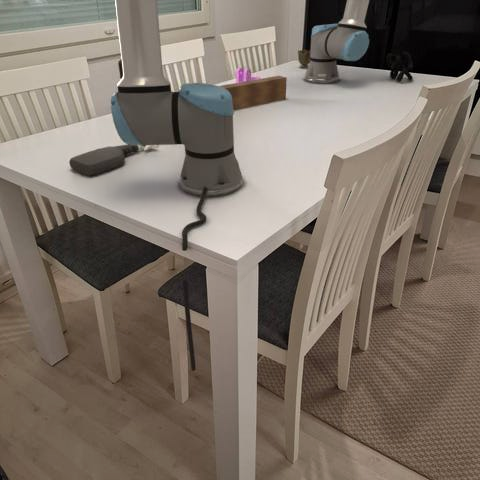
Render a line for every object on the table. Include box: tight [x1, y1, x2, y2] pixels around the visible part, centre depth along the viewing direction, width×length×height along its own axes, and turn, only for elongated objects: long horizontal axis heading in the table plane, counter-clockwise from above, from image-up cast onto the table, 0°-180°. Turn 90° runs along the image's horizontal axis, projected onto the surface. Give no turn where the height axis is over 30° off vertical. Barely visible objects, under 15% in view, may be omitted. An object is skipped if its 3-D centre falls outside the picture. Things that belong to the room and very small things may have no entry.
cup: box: [297, 49, 311, 69], centre depth 225 cm, size 8×7×8 cm
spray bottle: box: [68, 144, 160, 177], centre depth 124 cm, size 3×11×24 cm
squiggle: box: [385, 51, 414, 83], centre depth 198 cm, size 11×10×15 cm
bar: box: [218, 75, 288, 111], centre depth 164 cm, size 51×5×8 cm, turn 124°
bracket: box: [235, 67, 262, 83], centre depth 199 cm, size 13×6×7 cm, turn 143°
